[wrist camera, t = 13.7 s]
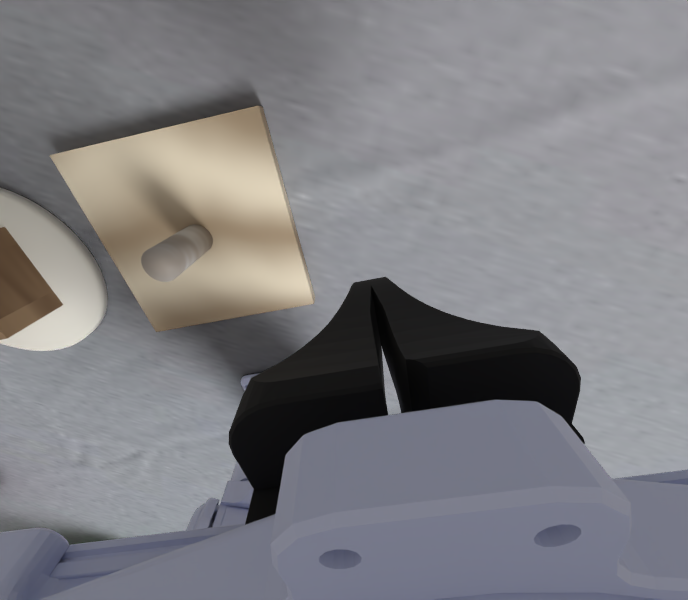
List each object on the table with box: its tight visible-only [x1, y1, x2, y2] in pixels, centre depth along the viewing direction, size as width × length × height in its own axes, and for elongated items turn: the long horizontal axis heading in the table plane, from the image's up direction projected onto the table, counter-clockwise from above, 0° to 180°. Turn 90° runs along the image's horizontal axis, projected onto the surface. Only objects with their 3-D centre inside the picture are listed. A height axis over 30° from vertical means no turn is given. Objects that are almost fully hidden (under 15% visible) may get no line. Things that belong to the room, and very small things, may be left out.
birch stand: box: [50, 106, 315, 332], centre depth 17 cm, size 12×12×6 cm
